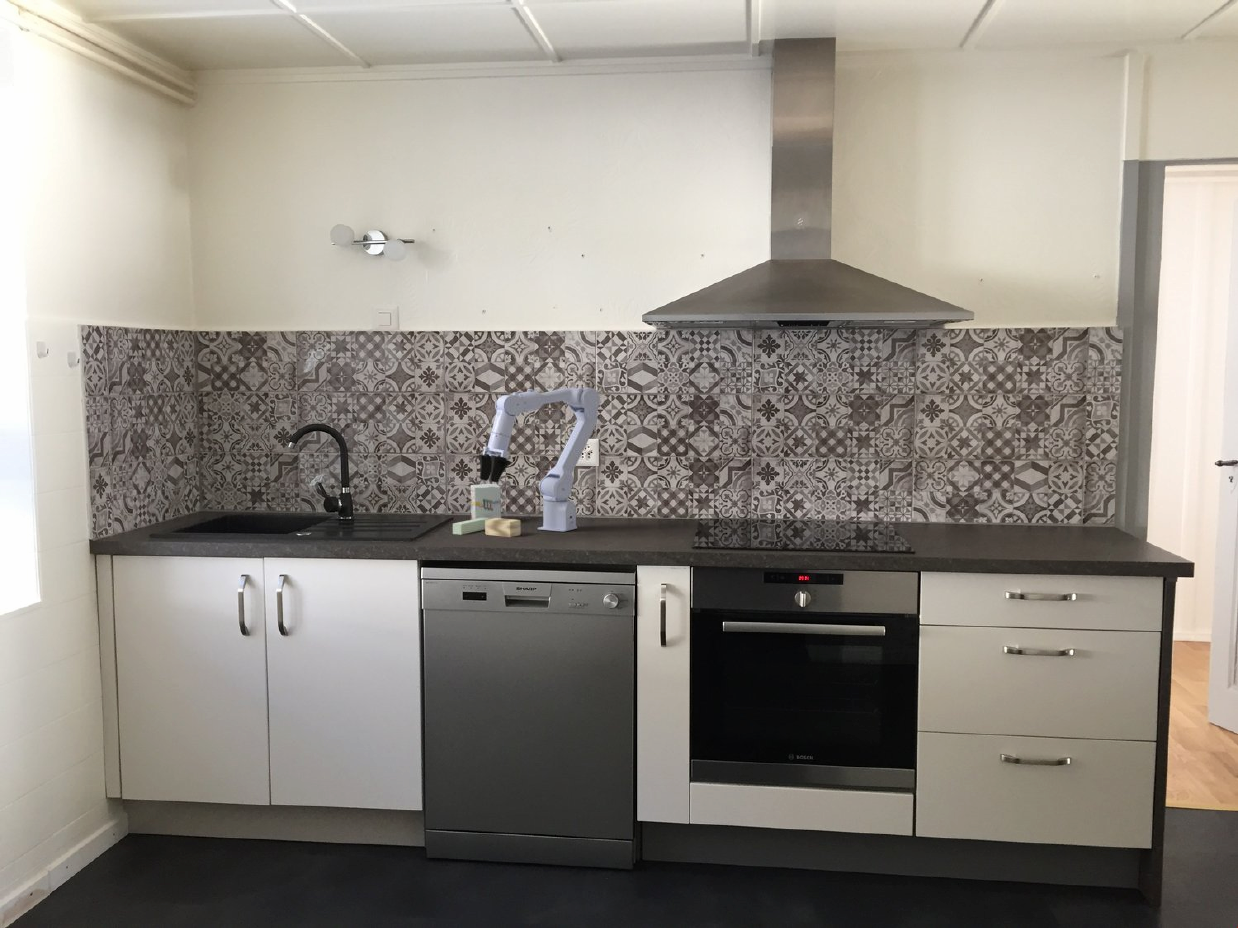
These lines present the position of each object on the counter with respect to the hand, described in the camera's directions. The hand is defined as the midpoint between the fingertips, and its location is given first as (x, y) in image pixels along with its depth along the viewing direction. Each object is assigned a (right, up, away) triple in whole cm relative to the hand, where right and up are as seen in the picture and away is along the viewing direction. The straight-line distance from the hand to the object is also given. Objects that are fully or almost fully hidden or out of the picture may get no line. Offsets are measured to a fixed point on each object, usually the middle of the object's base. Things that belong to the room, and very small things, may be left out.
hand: (488, 481), depth 283 cm
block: (+4, -16, +4) cm, 17 cm away
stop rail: (-6, -15, +10) cm, 19 cm away
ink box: (-5, -14, +28) cm, 32 cm away
